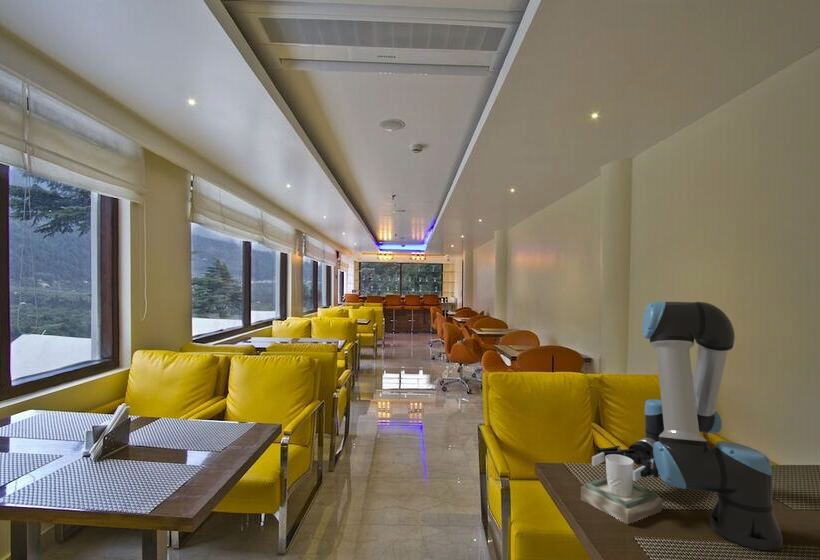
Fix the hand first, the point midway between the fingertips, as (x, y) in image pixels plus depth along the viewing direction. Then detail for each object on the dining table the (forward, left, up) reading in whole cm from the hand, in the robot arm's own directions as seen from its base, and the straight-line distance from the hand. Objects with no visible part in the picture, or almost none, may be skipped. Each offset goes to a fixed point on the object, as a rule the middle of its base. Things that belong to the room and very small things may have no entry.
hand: (612, 468), depth 122 cm
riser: (0, -4, -12) cm, 13 cm away
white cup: (0, -4, -8) cm, 9 cm away
